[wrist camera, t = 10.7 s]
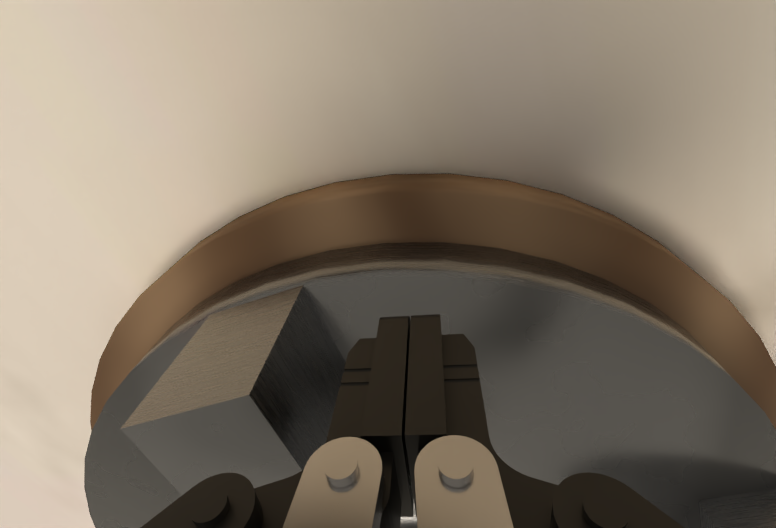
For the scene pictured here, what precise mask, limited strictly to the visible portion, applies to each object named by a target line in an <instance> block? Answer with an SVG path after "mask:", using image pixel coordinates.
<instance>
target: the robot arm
mask: <svg viewBox="0 0 776 528" xmlns="http://www.w3.org/2000/svg"><path fill="white" fill-rule="evenodd" d="M414 505H415V512H416V517H417V526H418V528H684V527H683V526H681V525H680V524H679V523H677V522H676V521H675V520H673V519H672V518H671V517H669V516H668V515H666V514H665V513H664V512H662V511H661V510H660V509H658V508H657V507H656V506H654V505H653V504H652V503H650V502H649V501H648V500H646V499H645V498H644V497H642V496H641V495H640V494H638V493H637V492H636V491H634V490H633V489H632V488H630V487H629V486H627V485H626V484H624V483H622V482H620V481H618V480H616V479H614V478H612V477H609V476H606V475H603V474H598V473H590V472H587V473H578V474H574V475H571V476H569V477H567V478H566V479H564V480H563V481H562V482H561V483H560V484H559V485H556V484H552V483H549V482H546V481H542V480H539V479H536V478H532V477H529V476H527V475H524V474H522V473H520V472H518V471H516V470H514V469H513V468H511V467H510V466H508V465H507V464H506V463H505V462H504V461H503V460H502V459H501V458H500V457H499V456H498V455H497V453H496V452H495V450H494V449H493V446H492V444H491V442H490V438H489V432H488V426H487V420H486V414H485V408H484V402H483V396H482V390H481V384H480V377H479V371H478V367H477V359H476V353H475V347H474V346H473V345H472V344H471V342H470V341H469V340H468V339H467V338H466V336H465V335H464V334H448V335H442V333H441V319H440V314H432V315H413V316H411V320H410V316H396V317H380V319H379V325H378V331H377V337H376V338H362V339H359V340H358V341H357V343H356V344H355V345H354V346H353V347H352V349H351V350H350V351H349V352H348V355H347V359H346V363H345V367H344V372H343V376H342V380H341V386H340V388H339V392H338V396H337V400H336V404H335V408H334V412H333V416H332V420H331V424H330V428H329V432H328V436H327V440H326V443H325V444H324V445H322V446H321V447H320V448H318V449H317V450H316V451H315V452H314V453H313V454H312V455H311V457H310V458H309V460H308V461H307V463H306V465H305V468H304V470H302V471H301V472H299V473H297V474H295V475H293V476H291V477H288V478H285V479H282V480H279V481H276V482H273V483H269V484H266V485H263V486H260V487H257V488H254V487H253V485H252V483H251V482H250V480H249V479H247V478H246V477H245V476H243V475H241V474H237V473H221V474H217V475H214V476H211V477H209V478H207V479H205V480H203V481H201V482H199V483H198V484H197V485H195V486H194V487H192V488H191V489H190V490H188V491H187V492H186V493H185V494H183V495H182V496H181V497H179V498H178V499H177V500H175V501H174V502H173V503H172V504H170V505H169V506H168V507H166V508H165V509H164V510H163V511H161V512H160V513H159V514H157V515H156V516H155V517H153V518H152V519H151V520H150V521H148V522H147V523H146V524H144V525H143V526H142V527H140V528H400V523H401V517H413V506H414Z"/></svg>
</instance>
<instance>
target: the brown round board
mask: <svg viewBox="0 0 776 528" xmlns="http://www.w3.org/2000/svg"><path fill="white" fill-rule="evenodd" d="M408 242H447V243H456V244H466V245H475V246H485V247H494V248H502V249H506V250H510V251H515V252H519V253H523V254H528V255H532V256H537V257H541V258H545V259H550V260H554V261H557V262H560V263H563V264H565V265H568V266H571V267H574V268H576V269H579V270H582V271H584V272H587V273H590V274H592V275H595V276H598V277H601V278H603V279H606V280H608V281H610V282H612V283H614V284H616V285H617V286H619V287H621V288H623V289H625V290H627V291H629V292H631V293H632V294H634V295H636V296H638V297H640V298H642V299H644V300H645V301H647V302H649V303H651V304H653V305H654V306H655V307H657V308H658V309H659V310H661V311H662V312H663V313H665V314H666V315H667V316H669V317H670V318H671V319H673V320H674V321H675V322H677V323H678V324H679V325H681V326H682V327H683V328H685V329H686V330H687V331H688V332H689V333H690V334H691V335H692V336H693V337H694V338H695V339H696V340H697V341H698V342H699V343H700V344H701V345H702V346H703V347H704V348H705V349H706V350H707V352H708V353H709V354H710V355H711V356H712V357H713V358H714V359H715V360H716V361H717V362H718V363H719V364H720V365H721V366H722V367H723V368H724V369H725V370H726V372H727V373H728V374H729V375H730V376H731V377H732V378H733V379H734V380H735V381H736V382H737V383H738V384H739V385H740V386H741V387H742V388H743V389H744V391H745V392H746V393H747V394H748V395H749V396H750V397H751V398H752V399H753V400H754V401H755V402H756V403H757V404H758V405H759V406H760V408H761V409H762V410H763V411H764V412H765V413H766V415H767V416H768V418H769V420H770V421H771V423H772V425H773V426H774V428H775V430H776V366H775V365H774V363H773V361H772V359H771V357H770V355H769V353H768V351H767V350H766V348H765V346H764V344H763V342H762V340H761V338H760V337H759V335H758V334H757V333H756V332H755V331H754V329H753V328H752V327H751V326H750V325H749V323H748V322H747V321H746V320H745V319H744V317H743V316H742V315H741V314H740V313H739V311H738V310H737V309H736V308H735V307H734V305H733V304H732V303H731V302H730V301H729V300H728V299H727V298H726V297H725V296H723V295H722V294H721V293H720V292H719V291H717V290H716V289H715V288H714V287H713V286H711V285H710V284H709V283H708V282H707V281H705V280H704V279H703V278H702V277H701V276H699V275H698V274H697V273H696V272H694V271H693V270H692V269H691V268H690V267H688V266H687V265H686V264H685V263H683V262H682V261H681V260H680V259H679V258H677V257H676V256H675V255H674V254H672V253H671V252H670V251H669V250H667V249H666V248H665V247H664V246H663V245H661V244H660V243H659V242H658V241H656V240H654V239H653V238H651V237H649V236H648V235H646V234H644V233H643V232H641V231H639V230H637V229H636V228H634V227H632V226H631V225H629V224H627V223H626V222H624V221H622V220H620V219H619V218H617V217H615V216H614V215H612V214H609V213H607V212H604V211H602V210H599V209H597V208H594V207H592V206H589V205H587V204H584V203H582V202H580V201H577V200H575V199H572V198H570V197H567V196H565V195H562V194H558V193H554V192H550V191H546V190H543V189H539V188H535V187H531V186H527V185H523V184H519V183H515V182H511V181H507V180H498V179H490V178H481V177H472V176H464V175H455V174H394V175H384V176H377V177H370V178H363V179H356V180H349V181H342V182H336V183H332V184H328V185H325V186H321V187H318V188H314V189H311V190H307V191H304V192H300V193H297V194H293V195H290V196H286V197H283V198H281V199H278V200H276V201H274V202H272V203H269V204H267V205H265V206H263V207H260V208H258V209H256V210H254V211H252V212H249V213H247V214H245V215H243V216H240V217H238V218H237V219H235V220H233V221H232V222H230V223H229V224H227V225H226V226H224V227H223V228H221V229H219V230H218V231H216V232H215V233H213V234H212V235H210V236H208V237H207V238H205V239H204V240H202V241H201V242H199V243H198V244H197V245H196V246H195V247H194V248H193V249H191V250H190V251H189V252H188V253H187V254H186V255H185V256H184V257H182V258H181V259H180V260H179V261H178V262H177V263H176V264H174V265H173V266H172V267H171V268H170V269H169V270H168V271H167V272H166V273H164V274H163V275H162V276H161V277H160V278H159V279H158V280H157V281H156V282H154V283H153V284H152V285H151V286H150V287H149V288H148V289H147V290H146V291H144V292H143V293H142V294H141V295H140V296H139V297H138V299H137V300H136V301H135V303H134V304H133V305H132V307H131V308H130V309H129V310H128V312H127V313H126V314H125V316H124V317H123V318H122V320H121V321H120V322H119V324H118V325H117V326H116V328H115V330H114V332H113V334H112V336H111V338H110V340H109V342H108V344H107V346H106V348H105V350H104V352H103V354H102V356H101V358H100V361H99V365H98V369H97V373H96V377H95V381H94V385H93V389H92V398H91V421H90V422H91V429H93V427H94V425H95V423H96V421H97V419H98V417H99V415H100V413H101V411H102V409H103V407H104V405H105V403H106V401H107V400H108V399H109V397H110V396H111V395H112V394H113V392H114V391H115V390H116V389H117V388H118V386H119V385H120V384H121V383H122V381H123V380H124V379H125V378H126V377H127V375H128V374H129V373H130V372H131V371H132V369H133V368H134V367H135V366H136V365H137V364H138V363H139V362H140V360H141V359H142V358H143V357H144V356H145V355H146V354H147V353H148V352H149V350H150V349H151V348H152V347H153V346H154V345H155V344H156V343H157V341H158V340H159V339H160V338H161V337H162V336H163V335H164V334H165V333H166V331H167V330H168V329H169V328H171V327H172V326H173V325H174V324H175V323H177V322H178V321H179V320H180V319H181V318H182V317H184V316H185V315H186V314H187V313H188V312H189V311H191V310H192V309H193V308H194V307H195V306H197V305H198V304H199V303H201V302H203V301H204V300H206V299H208V298H209V297H211V296H213V295H214V294H216V293H218V292H219V291H221V290H223V289H224V288H226V287H228V286H229V285H231V284H233V283H234V282H237V281H239V280H241V279H244V278H246V277H249V276H251V275H253V274H256V273H258V272H261V271H263V270H265V269H268V268H270V267H273V266H275V265H277V264H280V263H284V262H288V261H291V260H295V259H299V258H303V257H306V256H310V255H314V254H318V253H321V252H325V251H329V250H335V249H343V248H350V247H358V246H365V245H372V244H380V243H408Z"/></svg>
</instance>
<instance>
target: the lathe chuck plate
mask: <svg viewBox="0 0 776 528" xmlns="http://www.w3.org/2000/svg"><path fill="white" fill-rule="evenodd" d="M432 314H440V319H441V333H442V335H448V334H464V335H465V336H466V338H467V339H468V340H469V341H470V342H471V344H472V345H473V346H474V347H475V353H476V359H477V367H478V371H479V377H480V384H481V390H482V396H483V402H484V408H485V414H486V420H487V426H488V432H489V438H490V442H491V444H492V446H493V449H494V450H495V452H496V453H497V455H498V456H499V457H500V458H501V459H502V460H503V461H504V462H505V463H506V464H507V465H508V466H510V467H511V468H513V469H514V470H516V471H518V472H520V473H522V474H524V475H527V476H529V477H532V478H536V479H539V480H542V481H546V482H549V483H552V484H556V485H559V484H560V483H561V482H562V481H563V480H564V479H566V478H567V477H569V476H571V475H574V474H578V473H587V472H590V473H598V474H603V475H606V476H609V477H612V478H614V479H616V480H618V481H620V482H622V483H624V484H626V485H627V486H629V487H630V488H632V489H633V490H634V491H636V492H637V493H638V494H640V495H641V496H642V497H644V498H645V499H646V500H648V501H649V502H650V503H652V504H653V505H654V506H656V507H657V508H658V509H660V510H661V511H662V512H664V513H665V514H666V515H668V516H669V517H671V518H672V519H673V520H675V521H676V522H677V523H679V524H680V525H681V526H683V527H684V528H776V430H775V428H774V426H773V425H772V423H771V421H770V420H769V418H768V416H767V415H766V413H765V412H764V411H763V410H762V409H761V408H760V406H759V405H758V404H757V403H756V402H755V401H754V400H753V399H752V398H751V397H750V396H749V395H748V394H747V393H746V392H745V391H744V389H743V388H742V387H741V386H740V385H739V384H738V383H737V382H736V381H735V380H734V379H733V378H732V377H731V376H730V375H729V374H728V373H727V372H726V370H725V369H724V368H723V367H722V366H721V365H720V364H719V363H718V362H717V361H716V360H715V359H714V358H713V357H712V356H711V355H710V354H709V353H708V352H707V350H706V349H705V348H704V347H703V346H702V345H701V344H700V343H699V342H698V341H697V340H696V339H695V338H694V337H693V336H692V335H691V334H690V333H689V332H688V331H687V330H686V329H685V328H683V327H682V326H681V325H679V324H678V323H677V322H675V321H674V320H673V319H671V318H670V317H669V316H667V315H666V314H665V313H663V312H662V311H661V310H659V309H658V308H657V307H655V306H654V305H653V304H651V303H649V302H647V301H645V300H644V299H642V298H640V297H638V296H636V295H634V294H632V293H631V292H629V291H627V290H625V289H623V288H621V287H619V286H617V285H616V284H614V283H612V282H610V281H608V280H606V279H603V278H601V277H598V276H595V275H592V274H590V273H587V272H584V271H582V270H579V269H576V268H574V267H571V266H568V265H565V264H563V263H560V262H557V261H554V260H550V259H545V258H541V257H537V256H532V255H528V254H523V253H519V252H515V251H510V250H506V249H502V248H494V247H485V246H475V245H466V244H456V243H447V242H408V243H380V244H372V245H365V246H358V247H350V248H343V249H335V250H329V251H325V252H321V253H318V254H314V255H310V256H306V257H303V258H299V259H295V260H291V261H288V262H284V263H280V264H277V265H275V266H273V267H270V268H268V269H265V270H263V271H261V272H258V273H256V274H253V275H251V276H249V277H246V278H244V279H241V280H239V281H237V282H234V283H233V284H231V285H229V286H228V287H226V288H224V289H223V290H221V291H219V292H218V293H216V294H214V295H213V296H211V297H209V298H208V299H206V300H204V301H203V302H201V303H199V304H198V305H197V306H195V307H194V308H193V309H192V310H191V311H189V312H188V313H187V314H186V315H185V316H184V317H182V318H181V319H180V320H179V321H178V322H177V323H175V324H174V325H173V326H172V327H171V328H169V329H168V330H167V331H166V333H165V334H164V335H163V336H162V337H161V338H160V339H159V340H158V341H157V343H156V344H155V345H154V346H153V347H152V348H151V349H150V350H149V352H148V353H147V354H146V355H145V356H144V357H143V358H142V359H141V360H140V362H139V363H138V364H137V365H136V366H135V367H134V368H133V369H132V371H131V372H130V373H129V374H128V375H127V377H126V378H125V379H124V380H123V381H122V383H121V384H120V385H119V386H118V388H117V389H116V390H115V391H114V392H113V394H112V395H111V396H110V397H109V399H108V400H107V401H106V403H105V405H104V407H103V409H102V411H101V413H100V415H99V417H98V419H97V421H96V423H95V425H94V427H93V429H92V432H91V436H90V440H89V444H88V448H87V452H86V456H85V485H84V487H85V492H86V497H87V502H88V507H89V512H90V515H91V518H92V520H93V523H94V525H95V527H96V528H140V527H142V526H143V525H144V524H146V523H147V522H148V521H150V520H151V519H152V518H153V517H155V516H156V515H157V514H159V513H160V512H161V511H163V510H164V509H165V508H166V507H168V506H169V505H170V504H172V503H173V502H174V501H175V500H177V499H178V498H179V497H181V496H182V495H183V494H185V493H186V492H187V491H188V490H190V489H191V488H192V487H194V486H195V485H197V484H198V483H199V482H201V481H203V480H205V479H207V478H209V477H211V476H214V475H217V474H221V473H237V474H241V475H243V476H245V477H246V478H247V479H249V480H250V482H251V483H252V485H253V487H254V488H257V487H260V486H263V485H266V484H269V483H273V482H276V481H279V480H282V479H285V478H288V477H291V476H293V475H295V474H297V473H299V472H301V471H302V470H304V468H305V465H306V463H307V461H308V460H309V458H310V457H311V455H312V454H313V453H314V452H315V451H316V450H317V449H318V448H320V447H321V446H322V445H324V444H325V443H326V440H327V436H328V432H329V428H330V424H331V420H332V416H333V412H334V408H335V404H336V400H337V396H338V392H339V388H340V386H341V380H342V376H343V372H344V367H345V363H346V359H347V355H348V352H349V351H350V350H351V349H352V347H353V346H354V345H355V344H356V343H357V341H358V340H359V339H362V338H376V337H377V331H378V325H379V319H380V317H396V316H410V320H411V316H413V315H432ZM400 528H418V526H417V517H416V512H415V505H414V506H413V517H401V523H400Z"/></svg>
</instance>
